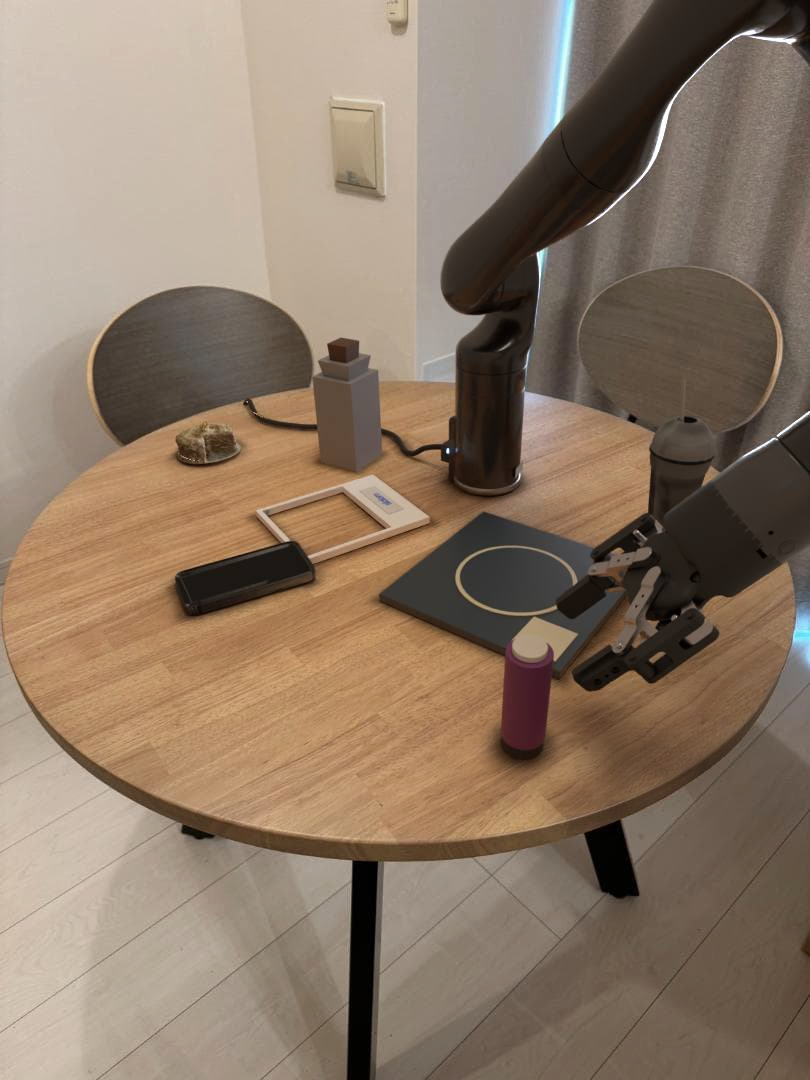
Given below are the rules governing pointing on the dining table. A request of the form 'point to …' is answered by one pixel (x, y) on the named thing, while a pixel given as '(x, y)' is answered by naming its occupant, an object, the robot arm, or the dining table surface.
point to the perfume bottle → (347, 407)
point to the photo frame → (369, 497)
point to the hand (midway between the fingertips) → (570, 644)
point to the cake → (207, 443)
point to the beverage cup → (678, 460)
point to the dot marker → (526, 695)
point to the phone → (243, 577)
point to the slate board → (504, 588)
